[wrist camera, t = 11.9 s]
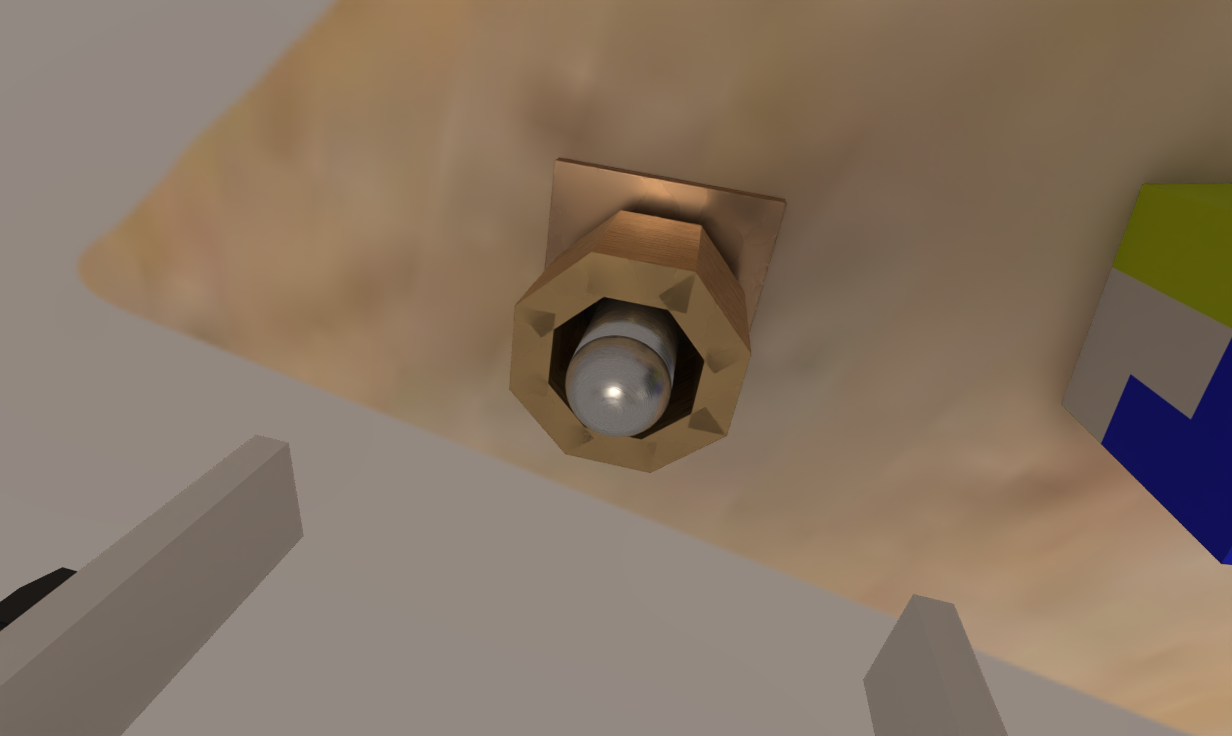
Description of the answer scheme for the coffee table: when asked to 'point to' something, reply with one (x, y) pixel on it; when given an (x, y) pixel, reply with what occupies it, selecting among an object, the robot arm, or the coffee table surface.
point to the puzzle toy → (1168, 357)
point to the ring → (649, 275)
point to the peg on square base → (634, 333)
